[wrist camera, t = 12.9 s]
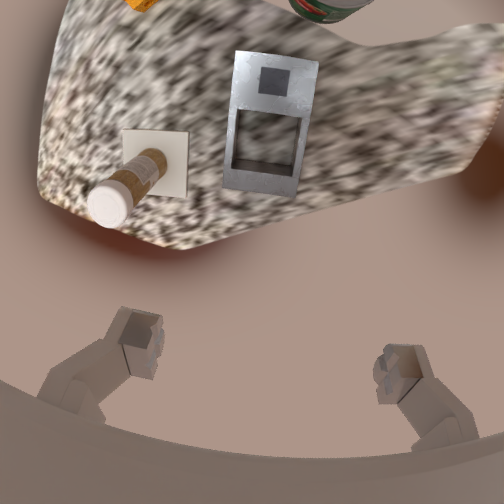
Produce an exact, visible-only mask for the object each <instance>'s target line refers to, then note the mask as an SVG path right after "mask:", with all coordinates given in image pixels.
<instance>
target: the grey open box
mask: <svg viewBox="0 0 504 504" xmlns="http://www.w3.org/2000/svg"><path fill="white" fill-rule="evenodd" d="M318 67H319V62H317V61H312V60H306V59H300V58H294V57H288V56H281V55H274V54H266V53H257V52H247V51H236V54H235V62H234V71H233V80H232V89H231V98H230V108H229V117H228V128H227V138H226V149H225V160H224V171H223V183H222V188H226V189H234V190H242V191H250V192H257V193H265V194H272V195H279V196H285V197H292V198H296V192H297V187H298V182H299V177H300V171H301V166H302V160H303V155H304V149H305V144H306V138H307V133H308V127H309V121H310V115H311V109H312V104H313V98H314V92H315V85H316V79H317V73H318ZM240 109H244V110H252V111H261V112H268V113H275V114H282V115H289V116H295V117H299V120H298V126H297V132H296V138H295V144H294V150H293V156H292V162H291V166H285V165H278V164H271V163H264V162H257V161H249V160H241V159H235V154H236V144H237V135H238V126H239V117H240Z"/></svg>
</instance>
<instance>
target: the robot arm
mask: <svg viewBox="0 0 504 504" xmlns="http://www.w3.org/2000/svg"><path fill="white" fill-rule="evenodd" d="M162 325H163V316H162V315H158V314H154V313H150V312H145V311H141V310H137V309H132V308H128V307H123V306H122V307H121V308H120V309H119V310H118V312H117V314H116V316H115V318H114V320H113V321H112V323H111V325H110V327H109V329H108V331H107V333H106V336H105V337H104V339H98V340H97V341H95V342H94V343H92V344H90V345H89V346H87V347H85V348H84V349H82V350H81V351H79V352H77V353H76V354H74V355H72V356H71V357H69V358H68V359H66V360H64V361H63V362H61V363H60V364H58V365H56V366H55V367H53V368H51V369H50V371H49V373H48V375H47V377H46V379H45V381H44V383H43V385H42V387H41V389H40V391H39V393H38V395H37V397H34V396H32V395H29V394H27V393H25V392H23V391H21V390H19V389H17V388H15V387H13V386H11V385H9V384H7V383H5V382H3V381H1V380H0V504H504V432H501V433H498V434H494V435H491V436H487V437H484V438H479V435H478V431H477V427H476V424H475V421H474V417H473V414H472V412H471V411H470V410H469V409H468V408H467V407H466V406H465V405H464V404H463V403H462V402H461V401H460V400H459V399H458V398H457V397H456V396H455V395H454V394H453V393H452V392H451V391H450V390H449V389H448V388H447V387H446V386H445V385H444V384H443V383H442V382H441V381H440V380H439V379H438V378H435V377H434V374H433V372H432V369H431V366H430V363H429V360H428V357H427V354H426V351H425V349H424V347H423V346H422V345H410V344H388V345H386V346H385V348H384V349H383V352H384V354H383V355H381V356H379V357H378V358H377V360H376V362H375V364H374V368H373V377H374V381H375V382H376V383H377V384H378V387H377V389H376V392H377V397H378V402H379V404H398V407H399V409H400V410H401V411H402V413H403V414H404V415H405V417H406V418H407V420H408V421H409V422H410V424H411V425H412V427H413V428H414V429H415V431H416V432H417V434H418V435H419V436H420V438H421V439H419V440H418V441H417V442H416V443H414V444H413V445H412V447H411V449H412V452H408V453H401V454H392V455H382V456H369V457H355V458H354V457H353V458H289V457H272V456H259V455H249V454H239V453H232V452H224V451H217V450H211V449H204V448H199V447H193V446H188V445H182V444H178V443H173V442H168V441H164V440H160V439H155V438H151V437H147V436H144V435H140V434H136V433H132V432H129V431H125V430H122V429H118V428H115V427H112V426H109V425H106V424H104V423H105V420H106V418H105V416H104V414H103V412H102V411H101V409H100V407H99V406H98V404H99V403H100V402H101V401H102V400H104V399H105V398H106V397H107V396H108V395H109V394H110V393H112V392H113V391H114V390H115V389H117V388H118V387H119V386H120V385H121V384H122V383H123V382H125V381H126V380H127V379H128V378H129V377H130V375H132V376H136V377H141V378H145V379H150V380H153V378H154V374H155V372H156V369H157V358H158V357H159V356H161V353H162V350H163V344H164V330H163V329H162V328H161V327H162Z"/></svg>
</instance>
